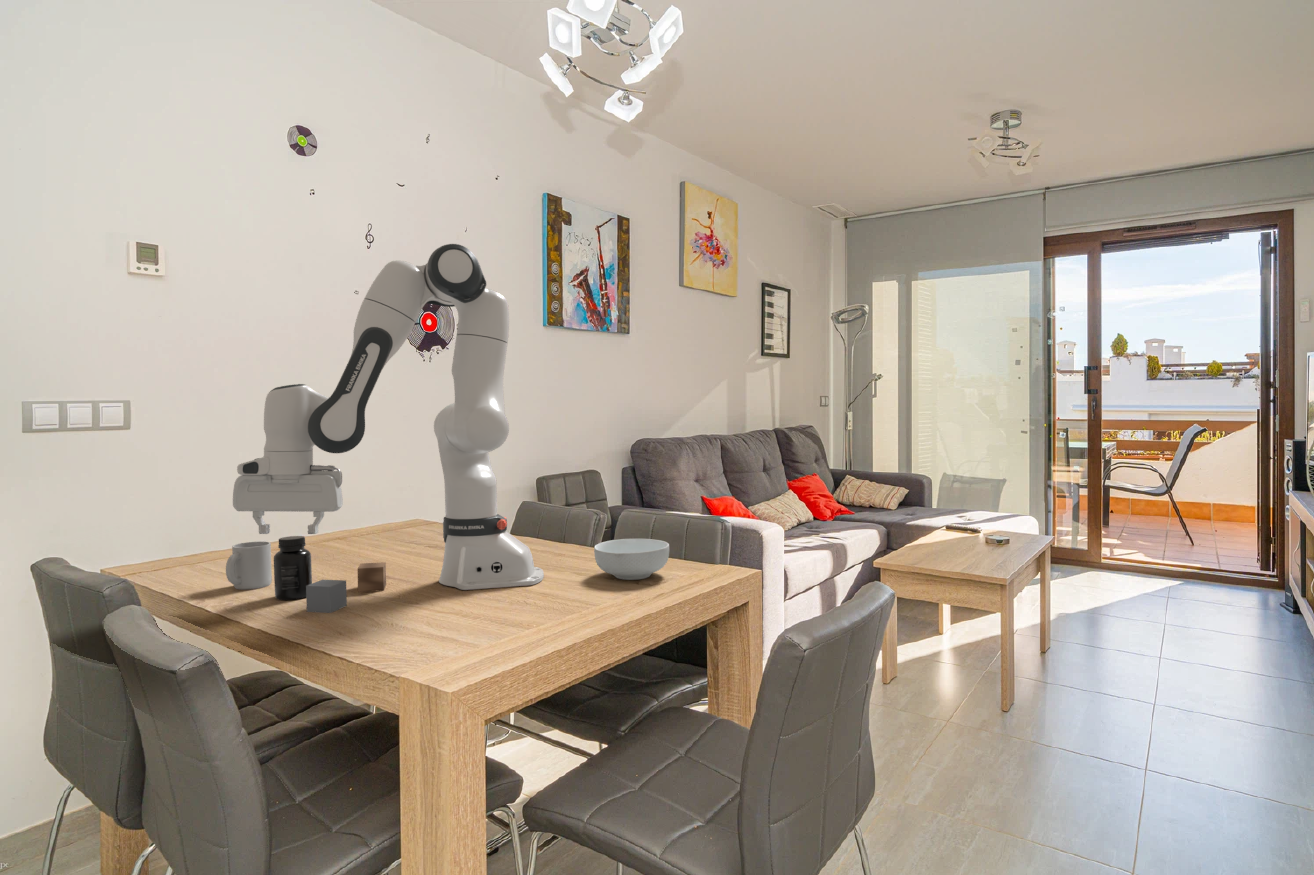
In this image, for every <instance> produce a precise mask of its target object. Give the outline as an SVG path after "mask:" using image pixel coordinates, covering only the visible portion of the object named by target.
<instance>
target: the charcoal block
mask: <svg viewBox="0 0 1314 875" xmlns="http://www.w3.org/2000/svg"><path fill="white" fill-rule="evenodd" d="M347 596H348V595H347V580H345V579H343V580H342V579H320V580H317V581H315V582H312V584H310V585H307V586H306V597H305V598H306V612H307V613H324V614H326V613H327V614H332V613H334V612H336V611H338V610H340V609H342V608H345V607H347V606H348V605H347V604H348V602H347V601H348V599H347Z"/></svg>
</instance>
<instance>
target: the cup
mask: <svg viewBox="0 0 1314 875" xmlns="http://www.w3.org/2000/svg"><path fill="white" fill-rule="evenodd" d="M271 546H272V545H271V542H270V541H246V542H241V543H236V544H233V545H232V547H231V548H232V550H231V551H232V554H231V555H230V556H229V557H228V558H227V561H226V565H225V575H226V579H227V581H228V582H230V583H231V584H232V585H233V587H234V589H236V590H243V591H244V590H245V591H247V590H248V591H249V590H257V589H262V588H267V587H269V586H270V585H271V584H272V581H273V575H272V547H271Z"/></svg>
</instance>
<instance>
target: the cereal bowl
mask: <svg viewBox="0 0 1314 875" xmlns="http://www.w3.org/2000/svg"><path fill="white" fill-rule="evenodd" d="M593 552H594V560H595V563H596V565H597V566H598V567H599V569H601V570H602V571H603V572H604V573H607V574H609V575H612V576H614V577H615V578H617V579H619V580H623V581H624V580H627V581H638V580H643V579H647V578H649V577H650V576H651V575H652V574H654V573H656V572H658V571H660V570H661V569H662V568H664V566H666V564H667V563H668V560H669V559H670V558H669V557H670V543H668V542H667V541H664V540H660V539H652V538H621V539H612V540H607V541H603V542H598V544H597V543H596V544H595V545H594V549H593Z"/></svg>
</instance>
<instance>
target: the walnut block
mask: <svg viewBox="0 0 1314 875" xmlns="http://www.w3.org/2000/svg"><path fill="white" fill-rule="evenodd" d="M386 565H387V563H386V561H382V562H381V561H380V562H366V563H365V562H364V563H360V564H359V565H358V567H357V592H358V593H367V592H369V593H370V592H382V591H385V589H386V586H387V566H386Z"/></svg>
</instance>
